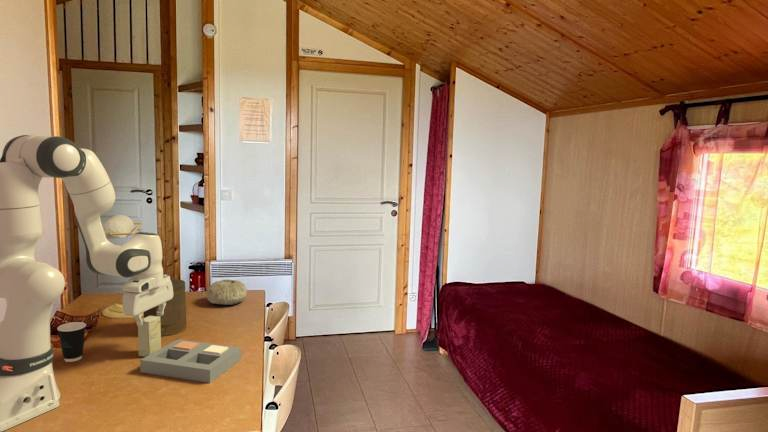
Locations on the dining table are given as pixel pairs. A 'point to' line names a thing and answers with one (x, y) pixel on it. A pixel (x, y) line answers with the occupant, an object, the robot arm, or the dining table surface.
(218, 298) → the decorative shell
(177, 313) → the brown metal canister
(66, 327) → the dixie cup
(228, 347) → the socket plate
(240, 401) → the dining table surface
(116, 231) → the desk lamp
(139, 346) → the skincare box
